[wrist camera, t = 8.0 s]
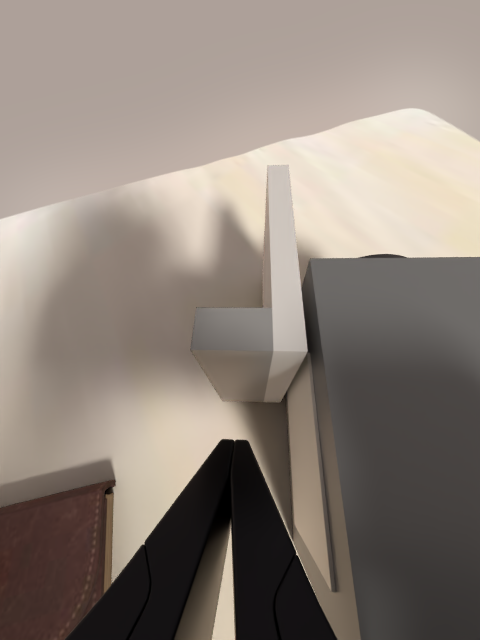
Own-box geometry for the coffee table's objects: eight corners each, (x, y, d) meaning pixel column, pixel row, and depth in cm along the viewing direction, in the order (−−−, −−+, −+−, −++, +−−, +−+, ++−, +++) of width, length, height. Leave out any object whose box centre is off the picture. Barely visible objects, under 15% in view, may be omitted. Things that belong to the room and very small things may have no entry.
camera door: (280, 402, 15) (307, 351, 7) (222, 400, 15) (190, 349, 7) (275, 276, 19) (288, 164, 12) (230, 277, 19) (216, 167, 12)
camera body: (443, 552, 11) (980, 837, 3) (291, 542, 12) (383, 766, 3) (384, 332, 17) (515, 213, 8) (280, 331, 17) (306, 217, 9)
